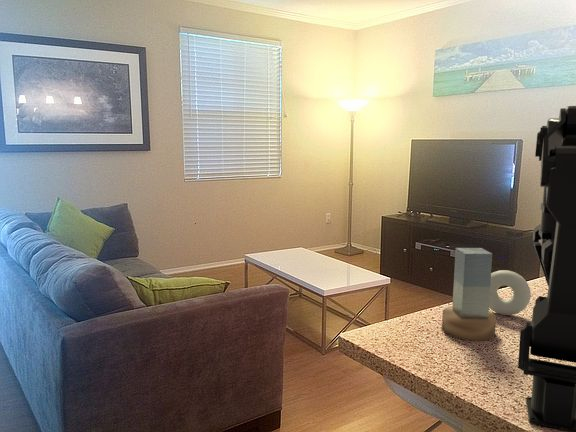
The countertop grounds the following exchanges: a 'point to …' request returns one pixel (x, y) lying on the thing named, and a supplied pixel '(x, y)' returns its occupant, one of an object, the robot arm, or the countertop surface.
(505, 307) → the donut
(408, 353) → the countertop surface
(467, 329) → the pedestal
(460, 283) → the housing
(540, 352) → the robot arm
